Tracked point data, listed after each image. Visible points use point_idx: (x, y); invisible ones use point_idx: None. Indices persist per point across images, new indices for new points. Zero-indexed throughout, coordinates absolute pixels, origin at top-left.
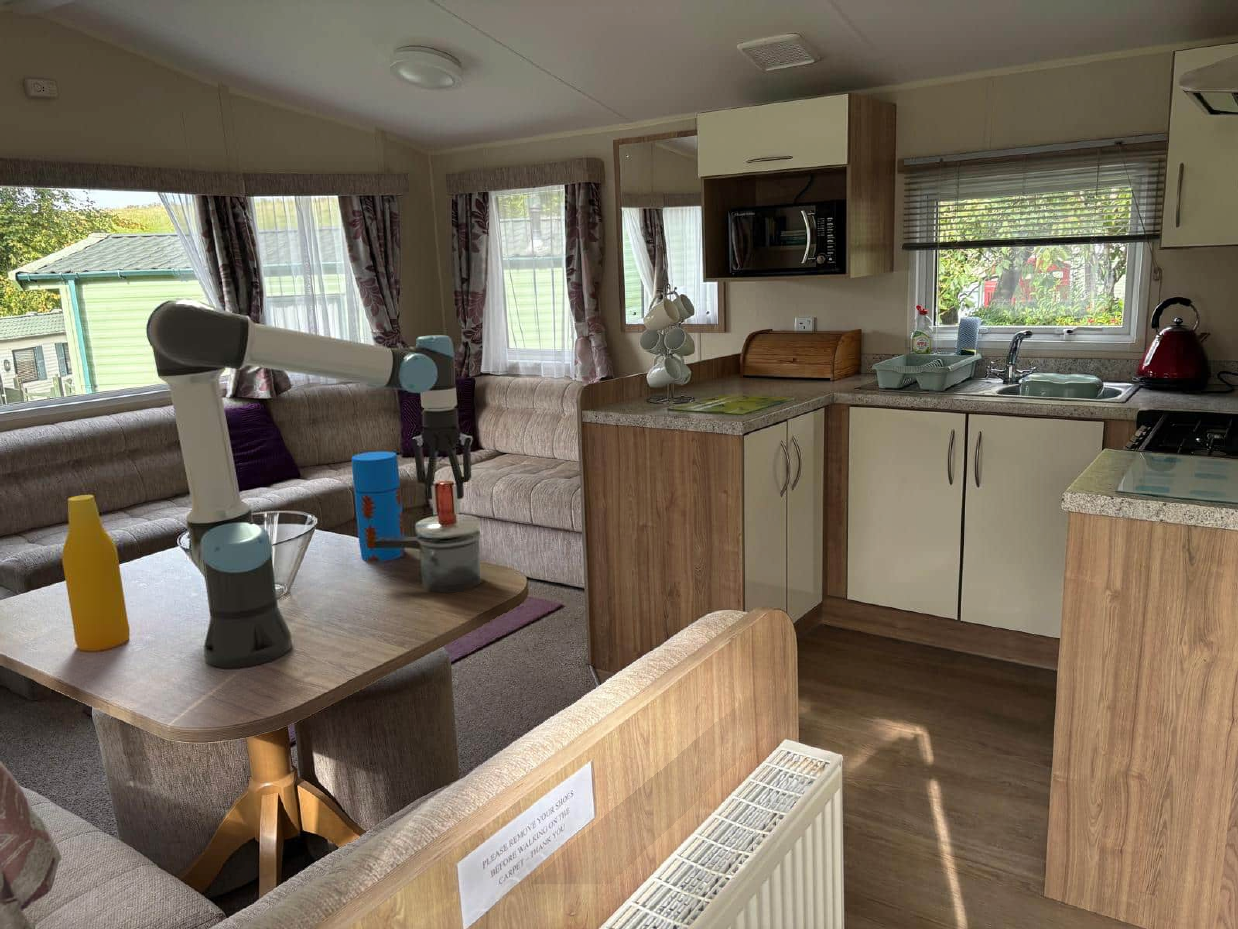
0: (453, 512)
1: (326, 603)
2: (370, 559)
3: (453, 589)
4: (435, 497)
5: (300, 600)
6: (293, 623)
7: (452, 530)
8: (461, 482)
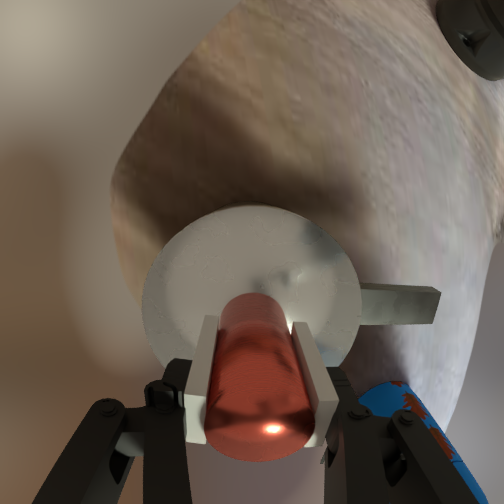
0: (223, 325)
1: (453, 183)
2: (401, 383)
3: (237, 202)
4: (306, 363)
5: (482, 207)
6: (469, 108)
7: (219, 216)
8: (149, 411)
